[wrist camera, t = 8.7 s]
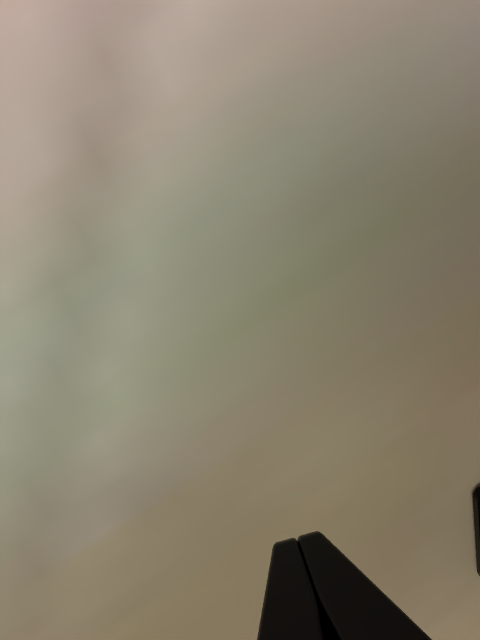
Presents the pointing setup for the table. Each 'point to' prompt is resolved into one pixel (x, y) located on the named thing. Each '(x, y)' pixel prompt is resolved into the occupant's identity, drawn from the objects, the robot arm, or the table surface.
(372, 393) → the table surface
